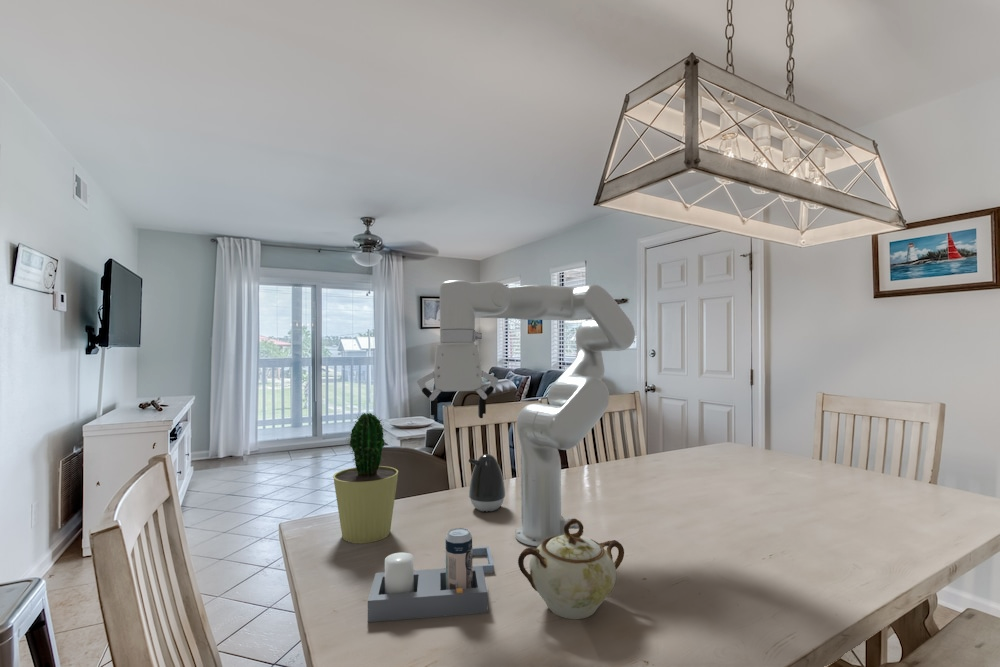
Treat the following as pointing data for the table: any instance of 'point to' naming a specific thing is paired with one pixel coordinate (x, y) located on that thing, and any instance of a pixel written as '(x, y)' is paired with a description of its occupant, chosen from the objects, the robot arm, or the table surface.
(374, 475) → the potted cactus
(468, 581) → the beer can
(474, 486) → the pump dispenser
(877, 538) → the table surface
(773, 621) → the table surface
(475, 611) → the two-slot holder block
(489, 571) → the hollow square frame
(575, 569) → the sugar bowl
